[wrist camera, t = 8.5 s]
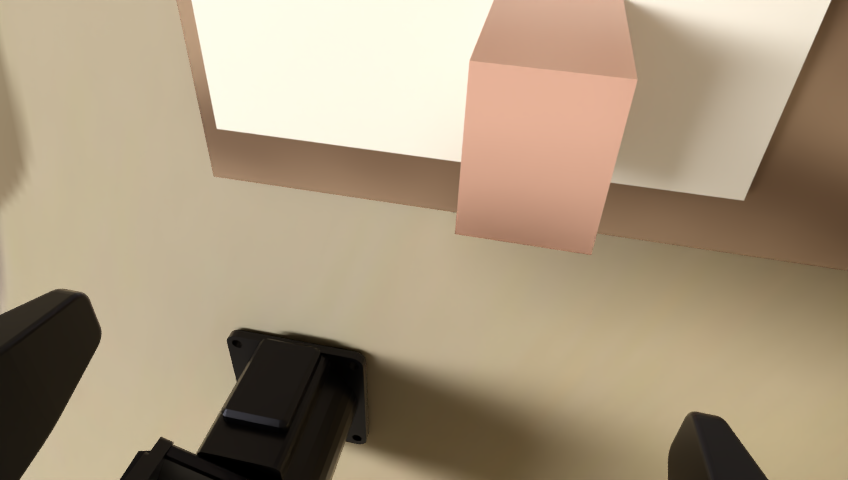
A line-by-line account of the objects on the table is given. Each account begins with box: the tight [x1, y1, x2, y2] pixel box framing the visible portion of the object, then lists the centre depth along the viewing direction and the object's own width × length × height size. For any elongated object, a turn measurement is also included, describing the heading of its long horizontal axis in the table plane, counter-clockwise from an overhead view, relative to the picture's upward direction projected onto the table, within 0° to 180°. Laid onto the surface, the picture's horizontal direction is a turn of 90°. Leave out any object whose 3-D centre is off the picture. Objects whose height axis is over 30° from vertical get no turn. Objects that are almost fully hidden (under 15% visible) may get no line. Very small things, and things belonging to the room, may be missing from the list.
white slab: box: [191, 0, 831, 255], centre depth 15 cm, size 6×16×6 cm, turn 89°
